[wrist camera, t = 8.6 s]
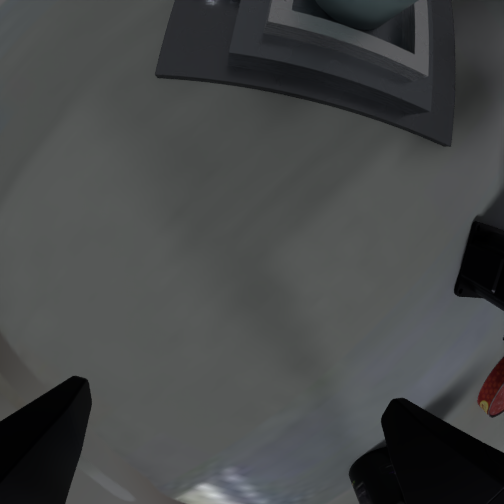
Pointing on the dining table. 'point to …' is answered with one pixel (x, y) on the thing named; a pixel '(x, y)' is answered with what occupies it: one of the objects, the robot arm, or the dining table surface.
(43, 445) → the robot arm
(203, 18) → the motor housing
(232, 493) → the dining table surface
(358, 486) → the supplement bottle
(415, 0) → the cylinder
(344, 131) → the dining table surface
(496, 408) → the canned food
